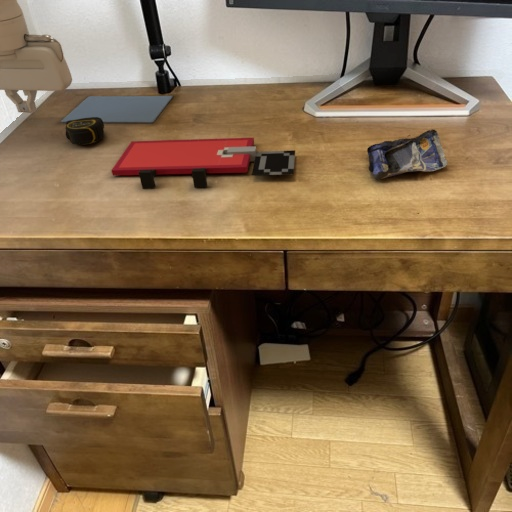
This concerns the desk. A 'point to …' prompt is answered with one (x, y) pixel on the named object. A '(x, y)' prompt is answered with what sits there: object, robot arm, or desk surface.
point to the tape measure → (84, 130)
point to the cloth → (120, 108)
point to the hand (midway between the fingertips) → (27, 111)
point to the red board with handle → (200, 159)
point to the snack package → (406, 155)
